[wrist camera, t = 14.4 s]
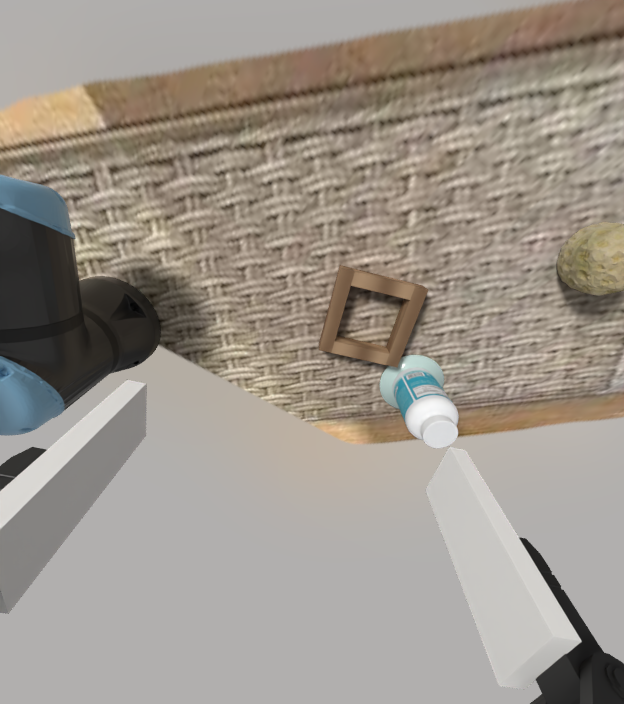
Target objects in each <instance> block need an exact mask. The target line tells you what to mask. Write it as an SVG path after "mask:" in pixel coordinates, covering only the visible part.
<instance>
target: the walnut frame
mask: <svg viewBox="0 0 624 704" xmlns="http://www.w3.org/2000/svg"><path fill="white" fill-rule="evenodd" d="M351 286H355V287H359V288H363V289H367V290H371V291H375V292H379V293H383V294H388V295H392V296H396V297H400V298H404V300H403V303H402V305H401V308H400V311H399V313H398V316H397V319H396V322H395V324H394V327H393V330H392V332H391V335H390V338H389V340H388V343H387V346H386V347H384V346H380V345H376V344H371V343H367V342H363V341H358V340H354V339H350V338H345V337H341V336H337V331H338V328H339V325H340V321H341V318H342V314H343V311H344V307H345V304H346V300H347V297H348V294H349V290H350V287H351ZM427 292H428V289H426V288H425V287H423V286H422V285H418V284H414V283H410V282H406V281H401V280H397V279H393V278H389V277H385V276H381V275H377V274H373V273H369V272H365V271H361V270H357V269H353V268H349V267H345V266H341V265H340V267H339V271H338V275H337V278H336V282H335V286H334V289H333V293H332V297H331V301H330V304H329V308H328V312H327V316H326V319H325V323H324V327H323V330H322V334H321V338H320V342H319V350H321V351H326V352H330V353H335V354H339V355H344V356H348V357H352V358H357V359H361V360H366V361H370V362H375V363H379V364H383V365H388V366H392V367H398V364H399V362H400V359H401V357H402V354H403V352H404V349H405V347H406V344H407V342H408V339H409V337H410V334H411V332H412V329H413V327H414V324H415V322H416V319H417V317H418V314H419V312H420V309H421V307H422V304H423V302H424V299H425V297H426V294H427Z"/></svg>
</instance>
